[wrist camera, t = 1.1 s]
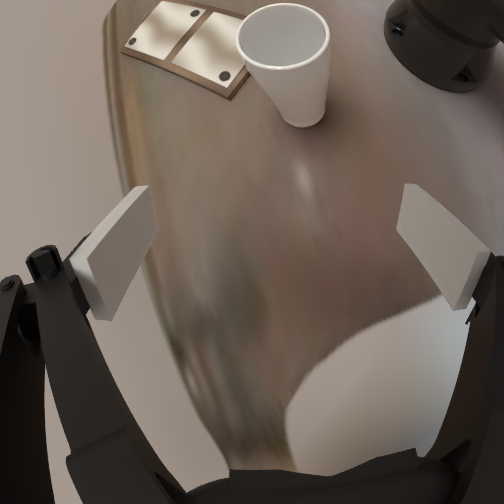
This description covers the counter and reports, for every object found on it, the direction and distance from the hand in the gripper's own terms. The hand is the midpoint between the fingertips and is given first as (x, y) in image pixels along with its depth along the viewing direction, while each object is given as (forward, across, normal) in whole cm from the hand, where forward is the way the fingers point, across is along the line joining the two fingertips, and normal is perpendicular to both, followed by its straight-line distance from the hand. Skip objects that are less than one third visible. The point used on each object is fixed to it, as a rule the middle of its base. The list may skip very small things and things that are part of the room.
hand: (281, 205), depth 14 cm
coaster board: (+30, -10, +14) cm, 34 cm away
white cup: (+21, +4, +3) cm, 22 cm away
